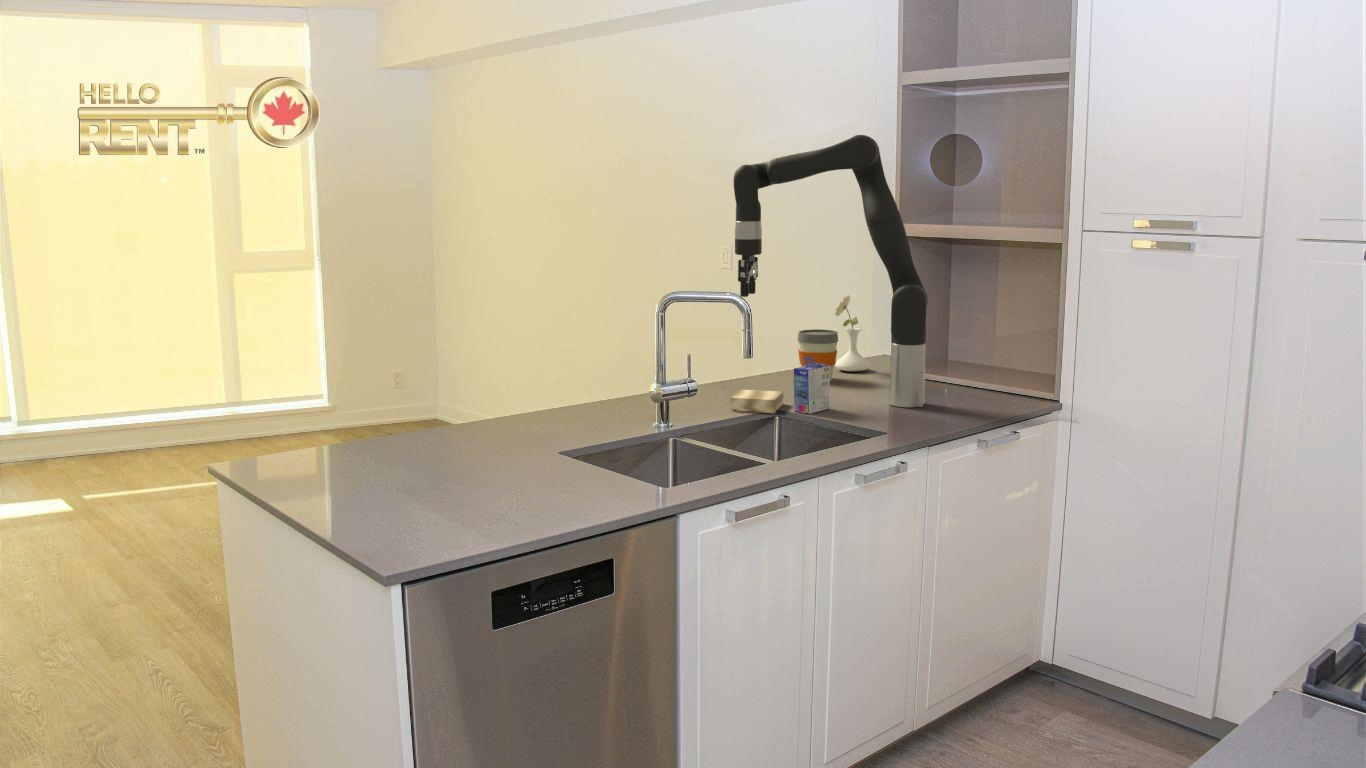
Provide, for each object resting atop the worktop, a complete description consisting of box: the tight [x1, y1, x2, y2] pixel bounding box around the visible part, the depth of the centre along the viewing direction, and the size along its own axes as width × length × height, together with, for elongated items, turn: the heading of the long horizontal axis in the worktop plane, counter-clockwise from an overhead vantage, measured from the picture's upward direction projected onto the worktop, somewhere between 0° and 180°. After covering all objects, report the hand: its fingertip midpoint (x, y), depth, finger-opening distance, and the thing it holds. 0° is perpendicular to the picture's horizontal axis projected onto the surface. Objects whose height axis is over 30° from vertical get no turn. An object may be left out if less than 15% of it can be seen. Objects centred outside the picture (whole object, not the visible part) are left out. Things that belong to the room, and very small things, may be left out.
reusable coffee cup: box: [797, 328, 839, 382], centre depth 327 cm, size 13×13×15 cm
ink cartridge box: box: [793, 356, 831, 415], centre depth 283 cm, size 10×6×14 cm, turn 137°
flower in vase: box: [834, 294, 871, 372], centre depth 341 cm, size 13×11×25 cm
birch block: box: [730, 389, 784, 414], centre depth 288 cm, size 12×12×4 cm
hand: (748, 295), depth 298 cm, fingers open, 8 cm apart
